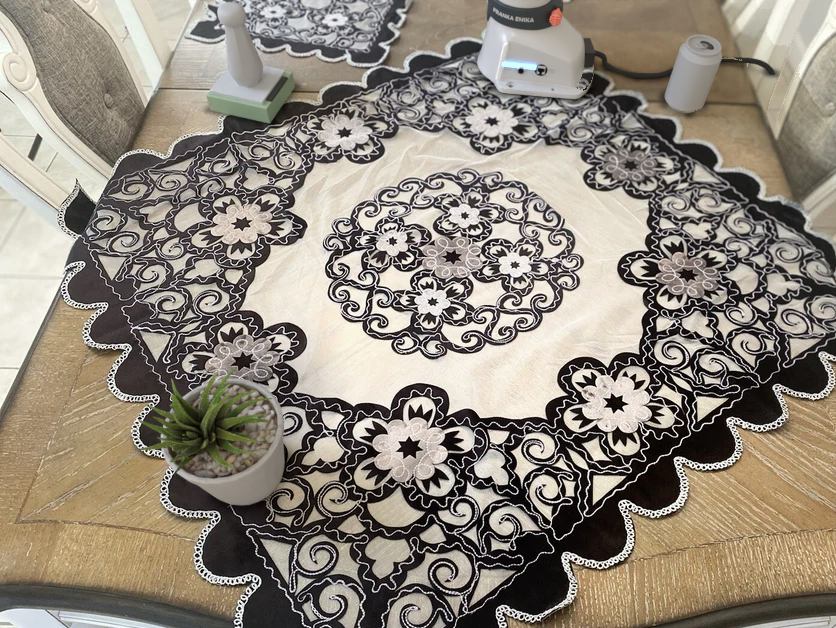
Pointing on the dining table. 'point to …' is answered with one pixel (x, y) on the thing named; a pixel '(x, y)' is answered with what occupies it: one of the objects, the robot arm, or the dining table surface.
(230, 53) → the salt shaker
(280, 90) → the kitchen scale
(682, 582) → the dining table surface
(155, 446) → the potted plant
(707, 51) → the can
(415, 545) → the dining table surface
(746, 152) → the dining table surface
